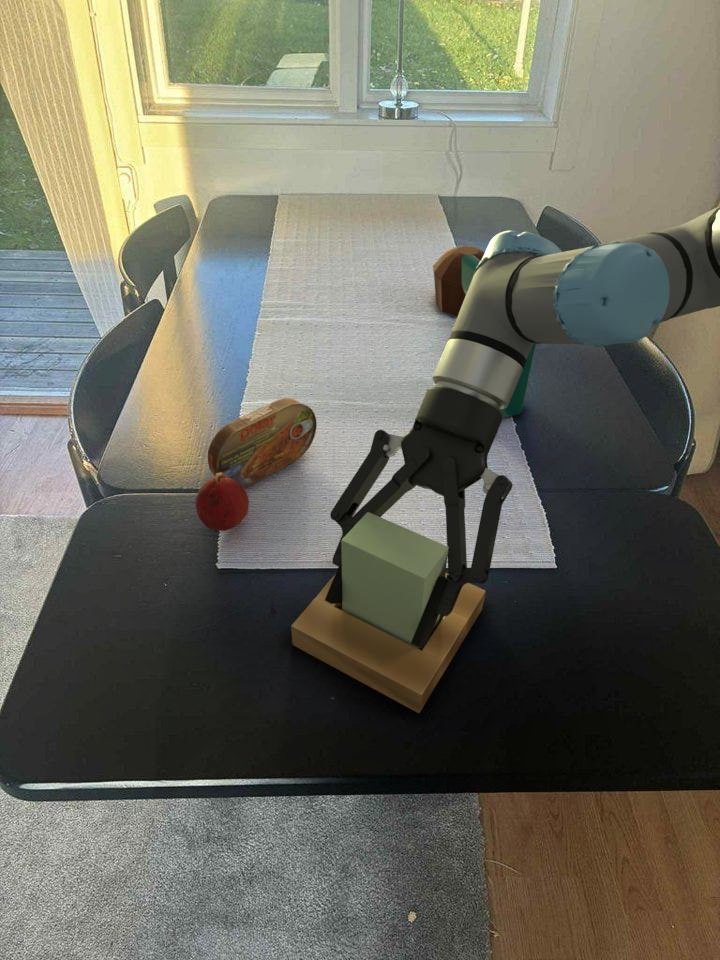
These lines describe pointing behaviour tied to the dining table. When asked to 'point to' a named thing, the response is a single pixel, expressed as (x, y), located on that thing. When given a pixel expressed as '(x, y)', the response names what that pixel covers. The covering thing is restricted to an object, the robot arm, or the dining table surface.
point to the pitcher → (521, 388)
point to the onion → (222, 503)
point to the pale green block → (389, 575)
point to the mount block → (385, 646)
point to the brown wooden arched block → (452, 278)
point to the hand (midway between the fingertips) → (375, 622)
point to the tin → (262, 441)
